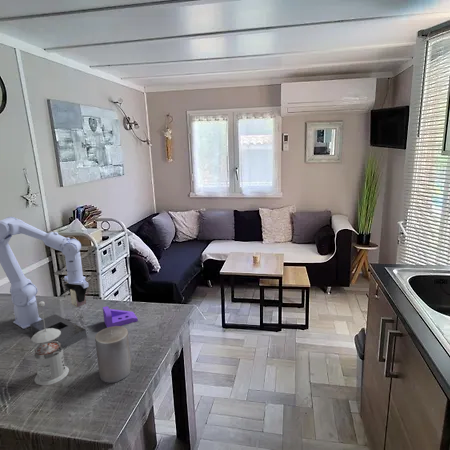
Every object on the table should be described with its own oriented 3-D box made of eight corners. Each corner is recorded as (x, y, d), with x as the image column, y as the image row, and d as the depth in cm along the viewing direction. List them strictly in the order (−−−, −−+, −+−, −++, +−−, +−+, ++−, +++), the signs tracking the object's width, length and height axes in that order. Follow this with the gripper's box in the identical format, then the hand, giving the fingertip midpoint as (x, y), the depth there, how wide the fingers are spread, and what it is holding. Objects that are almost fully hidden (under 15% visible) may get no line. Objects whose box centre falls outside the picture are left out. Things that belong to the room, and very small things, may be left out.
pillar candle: (106, 362, 111) (101, 322, 108) (135, 362, 111) (131, 322, 107) (94, 383, 102) (88, 339, 98) (126, 383, 101) (121, 339, 98)
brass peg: (71, 304, 139) (69, 289, 138) (80, 301, 142) (78, 285, 141) (77, 307, 137) (75, 291, 135) (86, 303, 140) (84, 287, 138)
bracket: (107, 330, 132) (106, 314, 131) (104, 322, 138) (102, 307, 136) (137, 321, 138) (136, 306, 136) (133, 315, 144) (132, 300, 142)
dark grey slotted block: (31, 331, 132) (30, 324, 131) (56, 320, 140) (55, 314, 139) (61, 349, 119) (60, 342, 118) (86, 336, 127) (85, 329, 126)
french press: (45, 389, 99) (33, 312, 94) (24, 376, 105) (12, 303, 100) (75, 371, 107) (65, 299, 102) (54, 359, 113) (44, 291, 108)
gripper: (93, 269, 135) (97, 300, 138) (73, 263, 143) (77, 292, 146) (77, 275, 130) (81, 307, 133) (57, 268, 138) (61, 298, 141)
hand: (78, 300), depth 139 cm, fingers closed on brass peg, 4 cm apart
